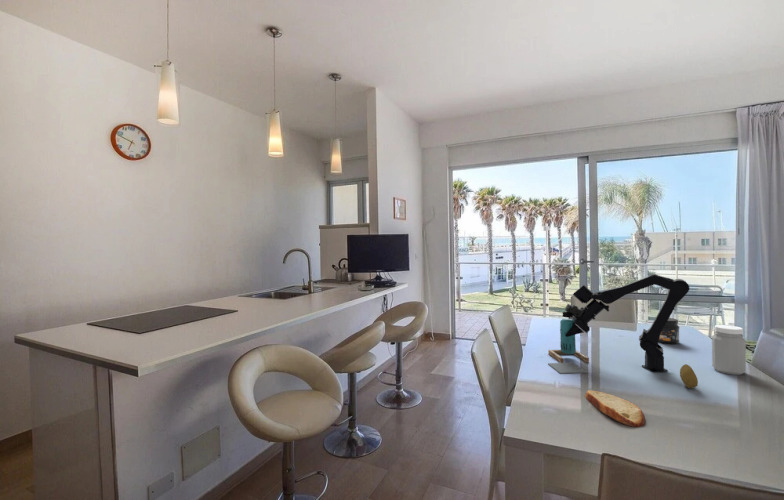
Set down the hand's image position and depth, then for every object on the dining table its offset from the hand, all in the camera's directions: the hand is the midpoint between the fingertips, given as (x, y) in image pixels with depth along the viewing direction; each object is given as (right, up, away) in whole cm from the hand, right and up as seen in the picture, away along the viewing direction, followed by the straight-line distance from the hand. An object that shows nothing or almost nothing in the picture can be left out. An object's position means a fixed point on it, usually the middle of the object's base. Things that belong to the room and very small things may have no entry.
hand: (564, 334), depth 162 cm
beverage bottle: (+2, -10, 0) cm, 10 cm away
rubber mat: (-6, -11, -13) cm, 18 cm away
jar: (+56, -10, -20) cm, 61 cm away
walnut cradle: (+1, -11, 0) cm, 11 cm away
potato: (+28, -11, -34) cm, 46 cm away
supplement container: (+63, -9, +21) cm, 67 cm away
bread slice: (-9, -13, -49) cm, 51 cm away
